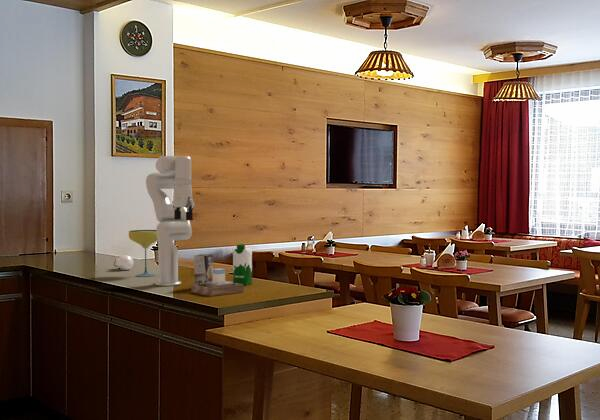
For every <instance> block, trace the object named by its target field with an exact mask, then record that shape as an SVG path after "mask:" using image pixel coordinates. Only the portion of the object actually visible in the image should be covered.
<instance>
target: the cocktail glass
mask: <svg viewBox="0 0 600 420" xmlns="http://www.w3.org/2000/svg"><path fill="white" fill-rule="evenodd" d="M128 237H129V239H130V241H132V242H134V243H136V244H138V245H140V246H141V247H142V248H143V249H144V272H143V273H139V274H136V275H135V277H137V276H138V277H139V278H150V277H149V276H152V277H156V276H155V275H156V274H154V273H150V272H148V269H147V249H148V248H149V247H150V246H152V244H154V243H157V242H158V238H157V233H156V229H138V230H137V229H136V230H135V229H134V230H133V229H132V230H129V231H128Z"/></svg>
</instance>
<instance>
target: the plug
mask: <svg viewBox="0 0 600 420" xmlns="http://www.w3.org/2000/svg"><path fill="white" fill-rule="evenodd" d="M226 274H227V273H226V268H213V283H225V281H226Z"/></svg>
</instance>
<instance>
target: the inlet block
mask: <svg viewBox="0 0 600 420" xmlns="http://www.w3.org/2000/svg"><path fill="white" fill-rule="evenodd" d="M226 286H233V281H228V280H225V283H213V281H211V282H206V287H207V288H217V287H226Z"/></svg>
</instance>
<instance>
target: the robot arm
mask: <svg viewBox="0 0 600 420" xmlns="http://www.w3.org/2000/svg"><path fill="white" fill-rule="evenodd" d="M155 169H156V171H157V172H152V173H149V174H148V175H147V176H146V178H145V186H146V189H147V190H146V191H147V193H148V195H149V198H150V199H151V201H152V205H153V208H154V213H155V217H156V220H157V221H158V224H157V225H156V229H155V230H156V233H157V238H158V241H157V247H158V249H157V250H158V276H157V275H156V278H157V279H158V281H156V282H155V285H156V286H159V287H160V286H162V287H163V286H164V287H168V286H169V287H171V286H179V285H181V284H182V281H181V280H179V253H178V247H177V245H176V244H175V243H174V242H173V241H183V240H184V241H186V240H190V238H191V237H192V234H193V230H192V229H193V228H192V225H191V221H193V219H194V217H193V213H194V208H195V204H196V202H195V201H194V200H193V189H192V158H191V156H188V155H161V156H159V157H158V159H157V160H156V162H155ZM163 190H173V196H172V201H170V199H171V198H170V197H169V195H167V193H166V192H164V191H163ZM171 202H172V203H171Z"/></svg>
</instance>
